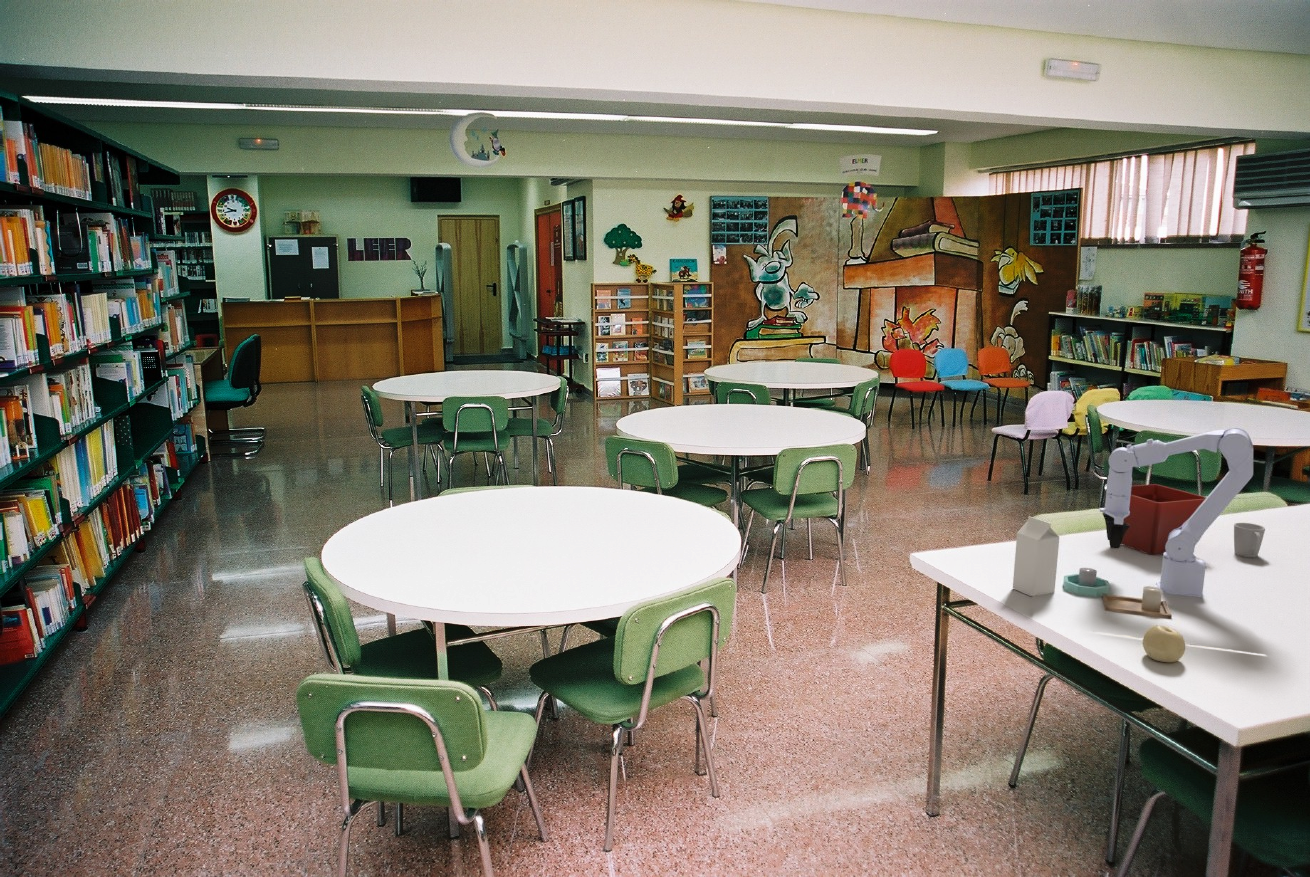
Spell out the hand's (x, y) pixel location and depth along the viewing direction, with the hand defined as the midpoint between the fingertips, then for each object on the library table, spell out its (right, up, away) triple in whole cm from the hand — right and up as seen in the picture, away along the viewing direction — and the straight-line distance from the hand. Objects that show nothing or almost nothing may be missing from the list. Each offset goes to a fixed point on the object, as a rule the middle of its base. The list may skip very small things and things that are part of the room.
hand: (1113, 544), depth 244 cm
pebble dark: (-10, -11, -6) cm, 16 cm away
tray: (-4, -14, -19) cm, 24 cm away
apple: (-13, -19, -47) cm, 52 cm away
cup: (+50, -6, +23) cm, 55 cm away
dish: (-10, -11, -6) cm, 17 cm away
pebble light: (-1, -13, -20) cm, 24 cm away
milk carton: (-24, -12, -7) cm, 27 cm away
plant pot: (+26, -5, +30) cm, 40 cm away
